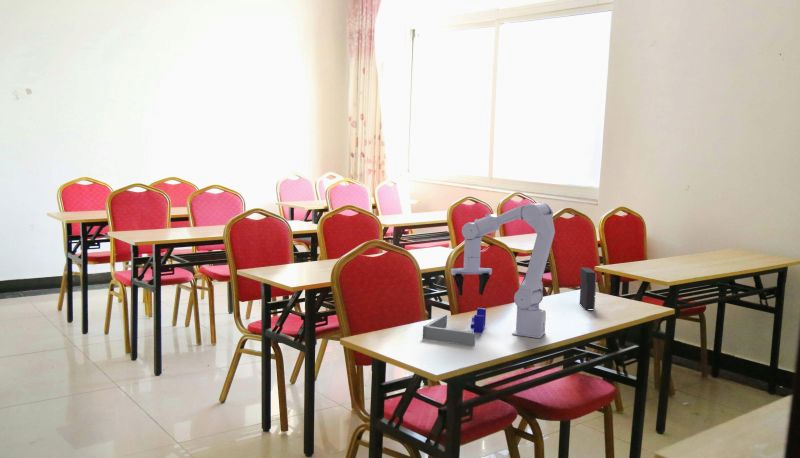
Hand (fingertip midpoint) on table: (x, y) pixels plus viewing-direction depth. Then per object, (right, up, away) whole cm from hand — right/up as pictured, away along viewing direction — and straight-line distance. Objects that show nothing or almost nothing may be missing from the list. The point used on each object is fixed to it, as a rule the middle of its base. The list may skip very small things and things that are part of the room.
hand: (470, 294), depth 258 cm
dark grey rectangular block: (+49, -8, +31) cm, 58 cm away
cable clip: (+2, -11, -7) cm, 13 cm away
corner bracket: (-6, -12, -17) cm, 22 cm away
